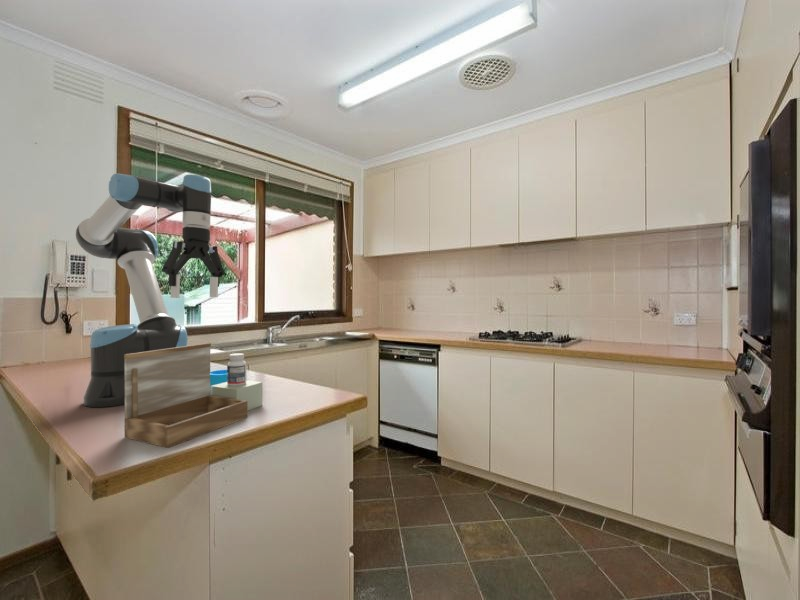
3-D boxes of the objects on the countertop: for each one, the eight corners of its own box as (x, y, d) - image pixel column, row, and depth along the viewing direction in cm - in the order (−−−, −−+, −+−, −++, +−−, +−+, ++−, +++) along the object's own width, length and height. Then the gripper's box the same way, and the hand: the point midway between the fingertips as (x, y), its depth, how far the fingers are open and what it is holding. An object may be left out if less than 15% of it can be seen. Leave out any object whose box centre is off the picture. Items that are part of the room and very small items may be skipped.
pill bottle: (230, 382, 117) (230, 352, 117) (248, 381, 117) (248, 352, 117) (224, 386, 112) (224, 355, 112) (243, 386, 112) (243, 355, 112)
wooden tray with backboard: (124, 437, 91) (124, 354, 90) (207, 410, 112) (207, 343, 112) (168, 447, 85) (167, 359, 84) (247, 417, 106) (247, 346, 106)
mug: (213, 402, 120) (213, 375, 120) (204, 396, 126) (204, 372, 126) (250, 395, 129) (250, 370, 129) (240, 390, 135) (240, 367, 135)
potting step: (210, 410, 112) (210, 386, 112) (237, 401, 121) (237, 379, 121) (236, 414, 108) (236, 389, 108) (262, 405, 117) (262, 382, 117)
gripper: (166, 220, 105) (165, 298, 106) (237, 233, 128) (236, 297, 129) (148, 221, 108) (147, 297, 108) (220, 233, 131) (219, 296, 131)
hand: (195, 297), depth 118 cm, fingers open, 13 cm apart
